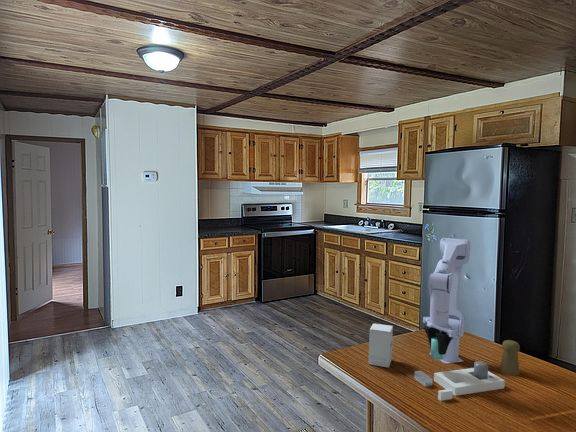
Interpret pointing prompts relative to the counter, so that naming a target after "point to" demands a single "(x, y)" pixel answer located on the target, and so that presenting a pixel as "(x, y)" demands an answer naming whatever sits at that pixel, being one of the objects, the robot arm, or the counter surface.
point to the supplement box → (380, 345)
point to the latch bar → (423, 378)
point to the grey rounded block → (480, 370)
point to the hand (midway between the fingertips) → (437, 351)
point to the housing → (467, 381)
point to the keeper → (445, 394)
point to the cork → (510, 358)
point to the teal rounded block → (435, 349)
